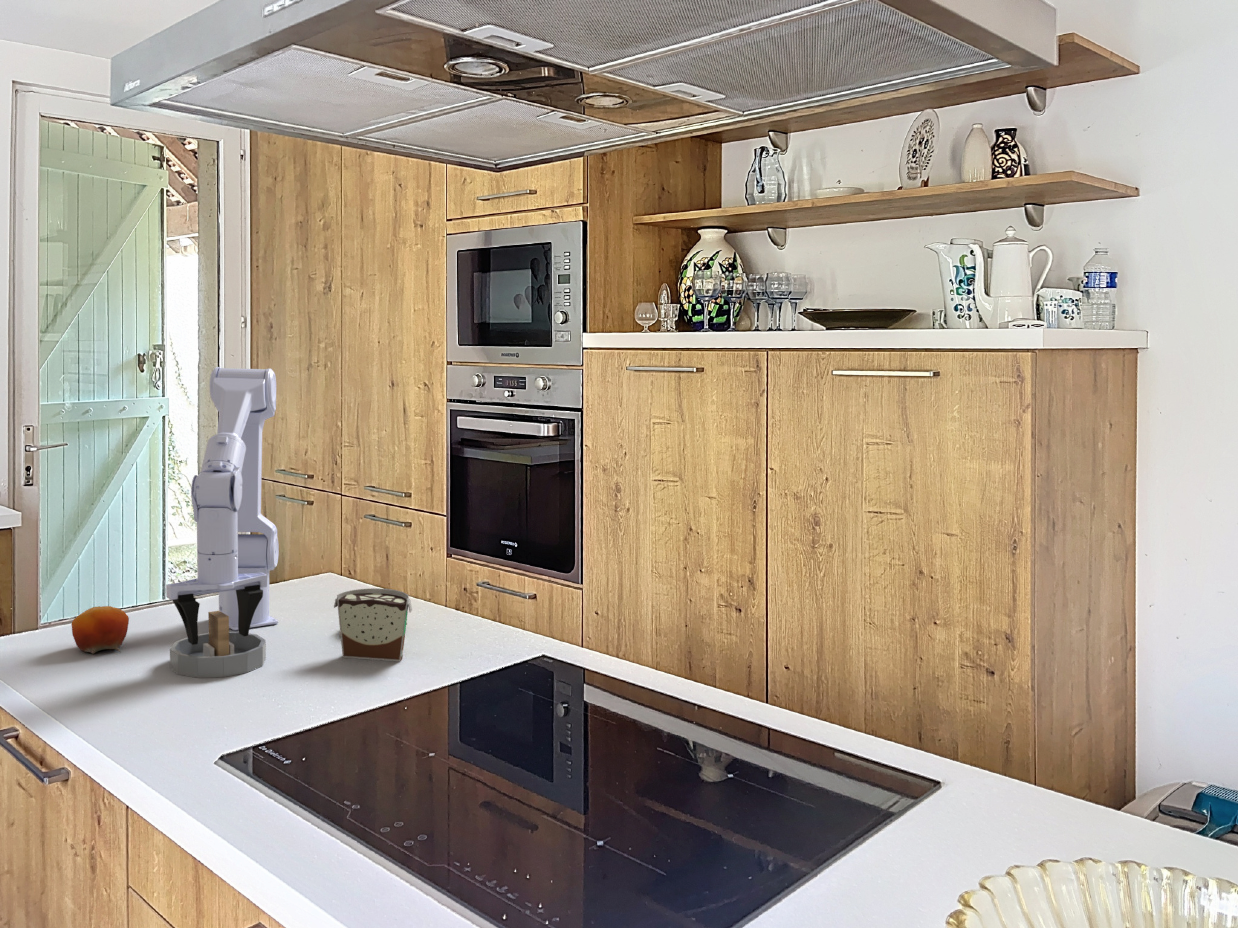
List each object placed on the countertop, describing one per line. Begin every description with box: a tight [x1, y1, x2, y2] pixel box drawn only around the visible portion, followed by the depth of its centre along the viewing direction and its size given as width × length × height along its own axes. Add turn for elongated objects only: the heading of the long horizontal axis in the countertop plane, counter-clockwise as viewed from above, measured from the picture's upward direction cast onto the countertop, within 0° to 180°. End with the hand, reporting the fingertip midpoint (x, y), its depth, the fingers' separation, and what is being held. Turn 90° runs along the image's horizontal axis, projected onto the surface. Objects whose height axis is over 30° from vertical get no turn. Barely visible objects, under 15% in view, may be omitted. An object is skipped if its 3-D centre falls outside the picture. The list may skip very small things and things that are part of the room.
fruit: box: [70, 605, 130, 655], centre depth 164 cm, size 8×8×8 cm
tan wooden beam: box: [207, 610, 230, 656], centre depth 160 cm, size 4×2×7 cm, turn 41°
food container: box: [333, 588, 413, 662], centre depth 167 cm, size 12×6×10 cm, turn 84°
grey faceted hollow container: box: [169, 631, 267, 679], centre depth 160 cm, size 13×13×3 cm
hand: (218, 638), depth 160 cm, fingers open, 7 cm apart
